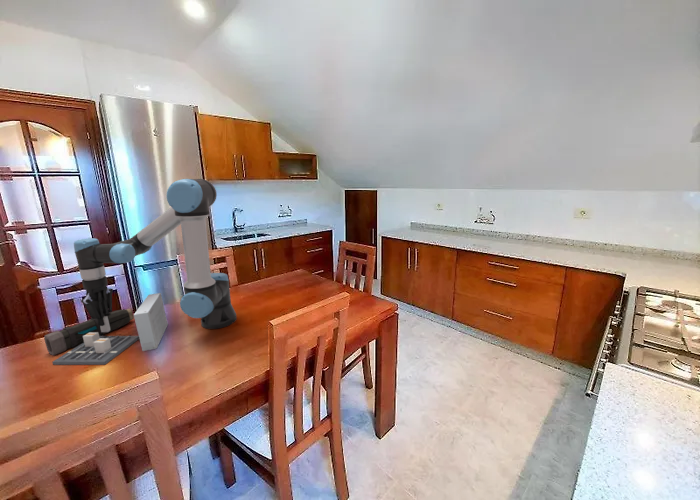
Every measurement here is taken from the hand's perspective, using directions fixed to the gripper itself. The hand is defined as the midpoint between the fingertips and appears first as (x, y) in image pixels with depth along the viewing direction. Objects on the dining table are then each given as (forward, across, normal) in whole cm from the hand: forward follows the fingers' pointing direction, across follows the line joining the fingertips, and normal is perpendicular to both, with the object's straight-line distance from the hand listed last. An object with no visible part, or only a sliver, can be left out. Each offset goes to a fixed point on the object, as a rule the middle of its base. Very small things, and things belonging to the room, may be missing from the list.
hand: (106, 331), depth 124 cm
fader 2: (+2, +11, +8) cm, 14 cm away
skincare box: (+4, -1, +20) cm, 20 cm away
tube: (+4, -2, -6) cm, 8 cm away
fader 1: (+2, +7, 0) cm, 7 cm away
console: (+3, +9, +4) cm, 10 cm away
